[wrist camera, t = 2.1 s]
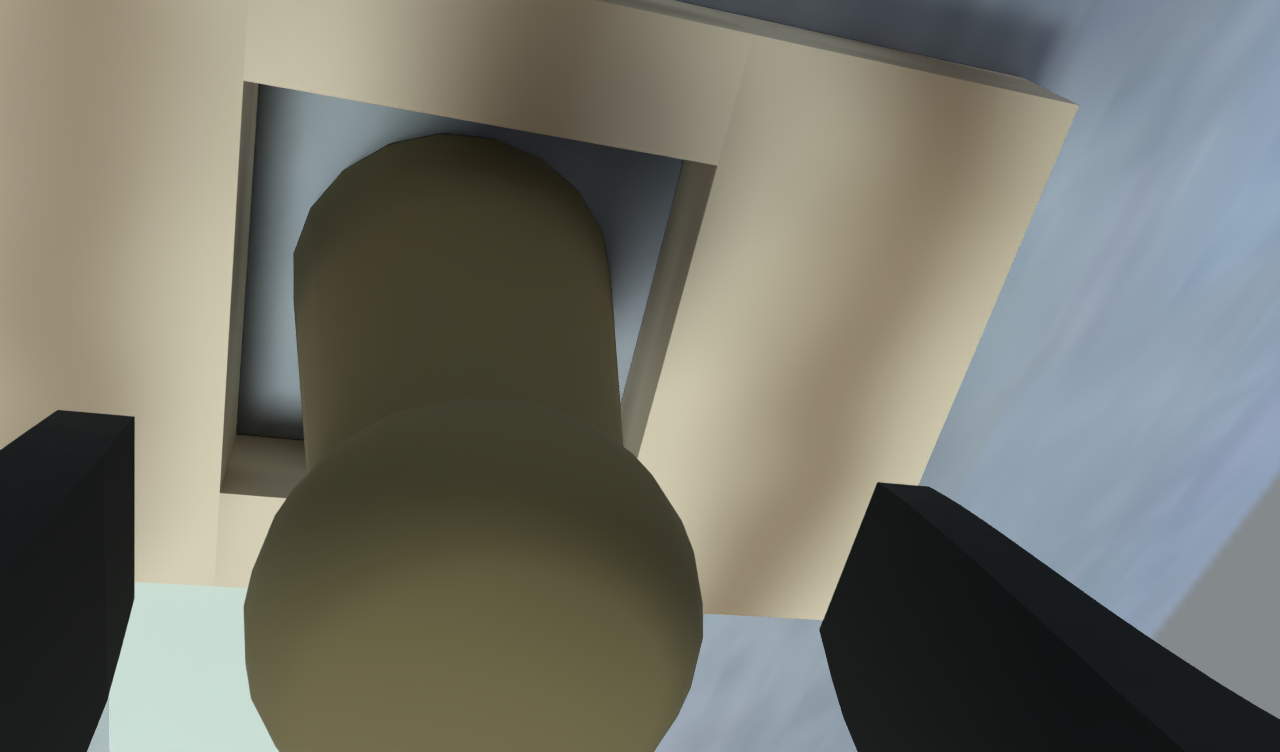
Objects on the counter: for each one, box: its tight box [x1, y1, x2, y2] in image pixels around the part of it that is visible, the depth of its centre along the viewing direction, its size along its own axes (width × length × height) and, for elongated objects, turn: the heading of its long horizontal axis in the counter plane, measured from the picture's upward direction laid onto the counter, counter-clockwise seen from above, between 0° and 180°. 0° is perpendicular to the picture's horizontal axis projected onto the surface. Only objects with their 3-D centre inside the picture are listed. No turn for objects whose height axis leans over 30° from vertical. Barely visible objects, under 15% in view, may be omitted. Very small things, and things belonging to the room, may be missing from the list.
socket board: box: [0, 0, 1079, 620], centre depth 19 cm, size 20×12×2 cm, turn 77°
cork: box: [243, 134, 703, 752], centre depth 15 cm, size 6×6×11 cm
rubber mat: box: [109, 582, 279, 752], centre depth 25 cm, size 10×10×1 cm
